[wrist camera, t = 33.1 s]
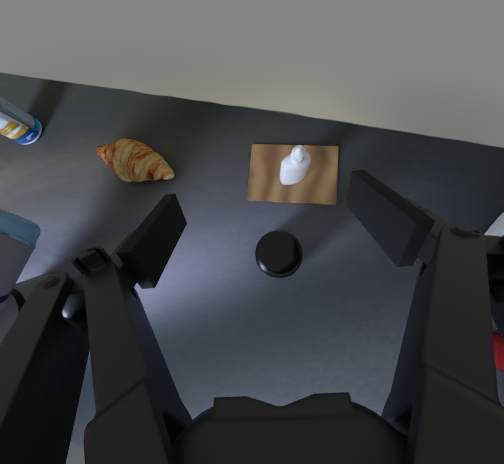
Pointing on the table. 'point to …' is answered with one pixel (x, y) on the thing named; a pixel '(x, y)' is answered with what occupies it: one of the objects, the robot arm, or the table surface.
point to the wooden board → (306, 191)
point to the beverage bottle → (18, 124)
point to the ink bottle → (278, 254)
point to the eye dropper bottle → (295, 166)
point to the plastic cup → (499, 351)
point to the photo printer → (497, 227)
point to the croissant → (134, 161)
